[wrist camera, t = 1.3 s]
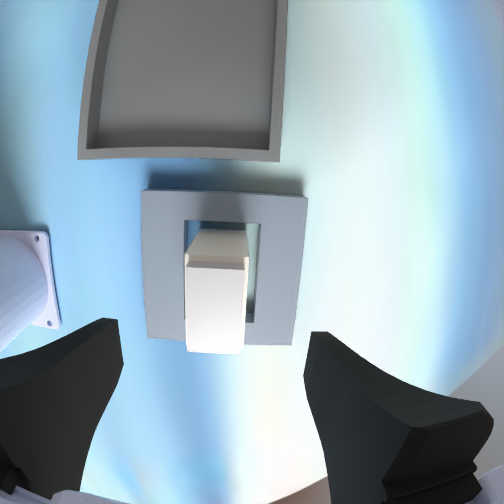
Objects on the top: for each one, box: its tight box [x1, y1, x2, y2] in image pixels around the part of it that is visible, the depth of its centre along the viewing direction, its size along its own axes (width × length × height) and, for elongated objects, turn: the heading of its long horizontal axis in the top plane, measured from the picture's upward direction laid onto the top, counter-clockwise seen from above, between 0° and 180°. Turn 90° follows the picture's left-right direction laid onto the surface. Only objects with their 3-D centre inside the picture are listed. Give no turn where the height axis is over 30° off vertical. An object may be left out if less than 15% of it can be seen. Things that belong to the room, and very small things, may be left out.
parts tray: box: [77, 0, 288, 162], centre depth 16 cm, size 12×14×2 cm
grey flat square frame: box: [141, 189, 308, 345], centre depth 20 cm, size 10×10×2 cm
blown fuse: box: [185, 229, 249, 354], centre depth 18 cm, size 3×5×7 cm, turn 176°
